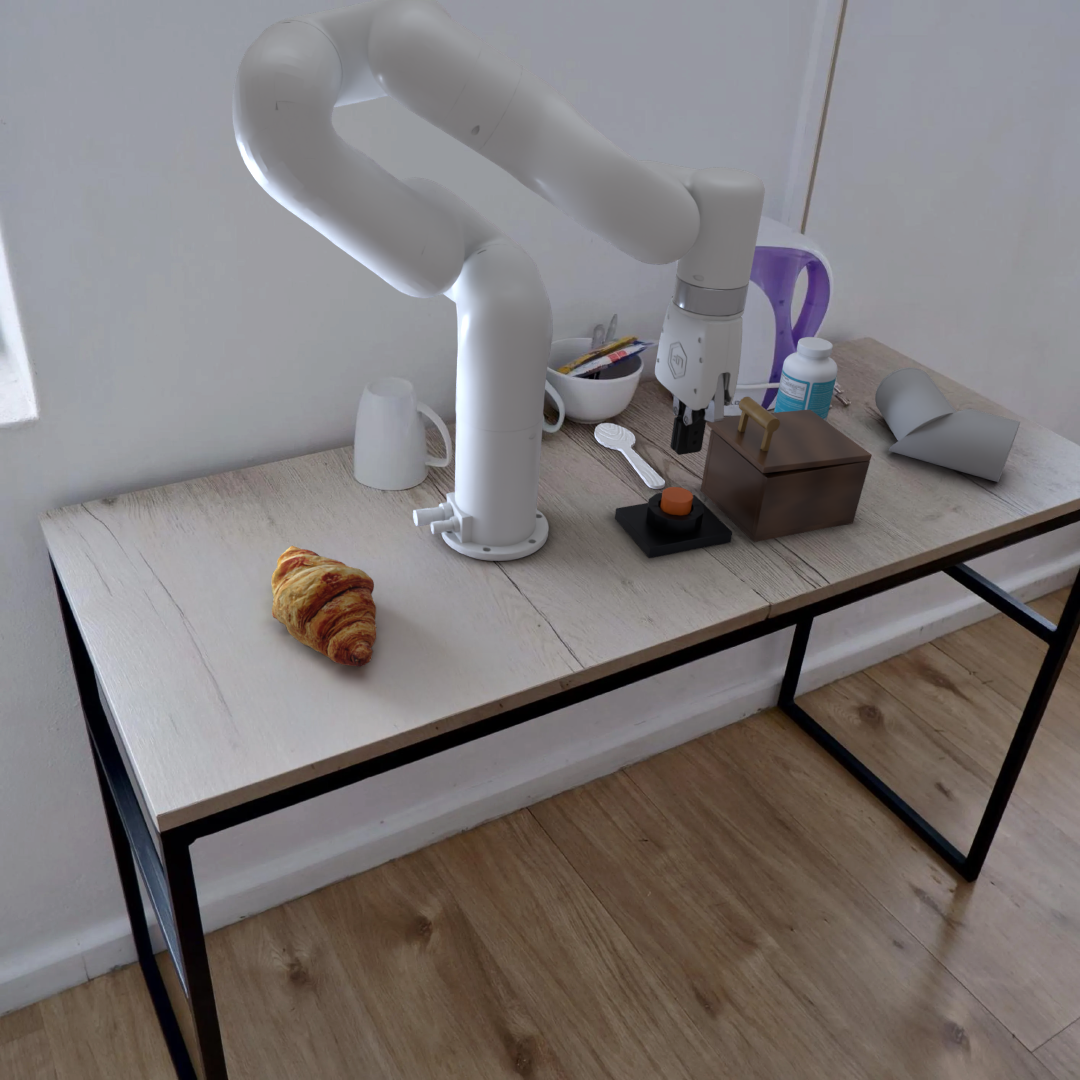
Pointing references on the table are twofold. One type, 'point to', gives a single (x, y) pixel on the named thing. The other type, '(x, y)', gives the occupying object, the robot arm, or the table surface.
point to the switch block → (672, 527)
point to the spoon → (627, 451)
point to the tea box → (780, 493)
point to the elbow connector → (942, 426)
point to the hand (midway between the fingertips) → (685, 449)
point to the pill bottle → (808, 378)
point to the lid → (786, 439)
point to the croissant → (325, 605)
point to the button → (676, 501)
